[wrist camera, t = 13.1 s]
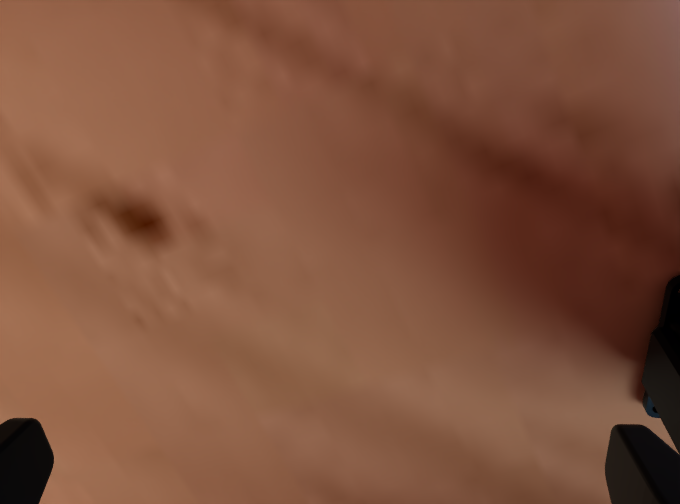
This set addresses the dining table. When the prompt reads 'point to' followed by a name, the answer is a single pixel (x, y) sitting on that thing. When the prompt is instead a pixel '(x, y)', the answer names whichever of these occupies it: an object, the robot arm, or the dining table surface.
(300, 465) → the dining table surface
